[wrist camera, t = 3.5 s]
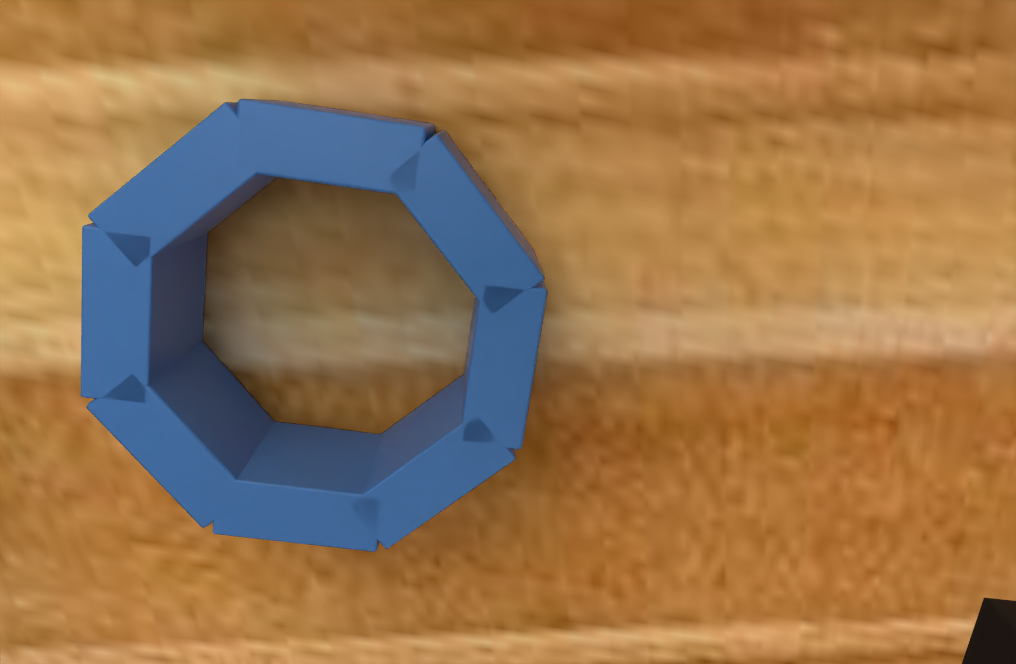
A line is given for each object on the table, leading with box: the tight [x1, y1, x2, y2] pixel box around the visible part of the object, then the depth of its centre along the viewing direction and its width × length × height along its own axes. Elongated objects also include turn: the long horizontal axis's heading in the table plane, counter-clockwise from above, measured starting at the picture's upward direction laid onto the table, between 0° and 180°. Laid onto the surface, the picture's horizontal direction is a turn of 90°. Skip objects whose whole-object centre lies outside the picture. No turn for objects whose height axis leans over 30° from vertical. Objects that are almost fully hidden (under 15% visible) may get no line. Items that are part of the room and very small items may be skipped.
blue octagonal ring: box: [81, 99, 548, 552], centre depth 21 cm, size 11×11×4 cm
